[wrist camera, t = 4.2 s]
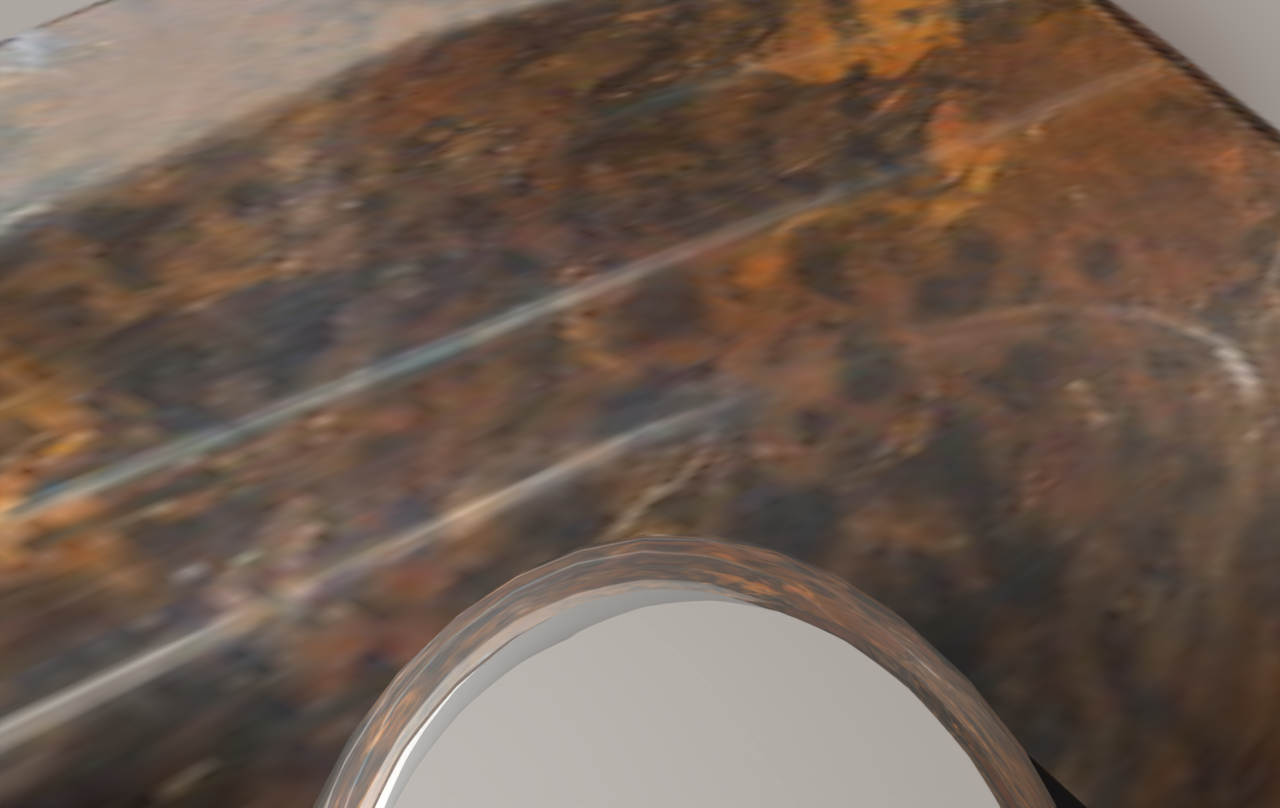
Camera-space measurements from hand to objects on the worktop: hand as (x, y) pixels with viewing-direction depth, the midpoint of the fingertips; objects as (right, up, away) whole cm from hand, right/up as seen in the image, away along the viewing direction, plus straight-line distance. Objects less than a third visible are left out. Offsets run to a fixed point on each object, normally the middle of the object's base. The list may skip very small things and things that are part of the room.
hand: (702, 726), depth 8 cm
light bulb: (0, -4, +6) cm, 7 cm away
